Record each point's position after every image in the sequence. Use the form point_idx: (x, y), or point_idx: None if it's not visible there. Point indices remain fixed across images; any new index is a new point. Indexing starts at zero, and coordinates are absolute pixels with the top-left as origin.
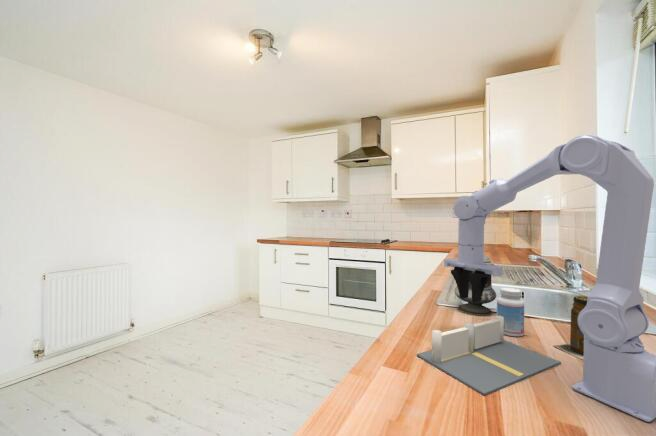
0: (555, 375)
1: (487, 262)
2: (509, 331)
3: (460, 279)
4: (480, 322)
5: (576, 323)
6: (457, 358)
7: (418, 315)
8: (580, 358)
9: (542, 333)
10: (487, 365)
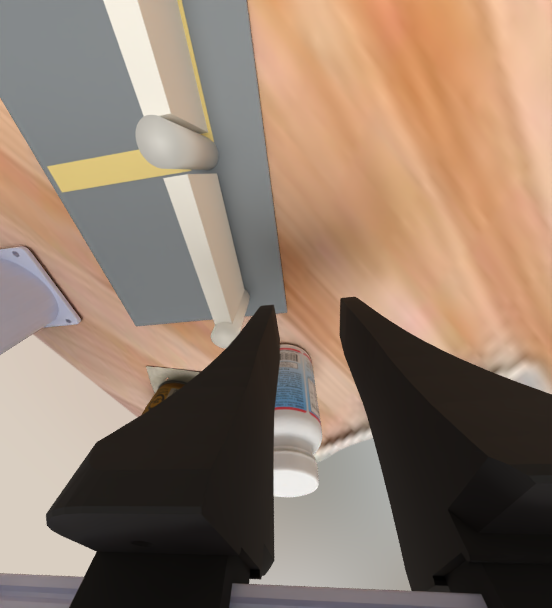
0: (88, 270)
1: None
2: None
3: (399, 388)
4: (207, 245)
5: None
6: None
7: (535, 230)
8: (158, 367)
9: None
10: (104, 125)
